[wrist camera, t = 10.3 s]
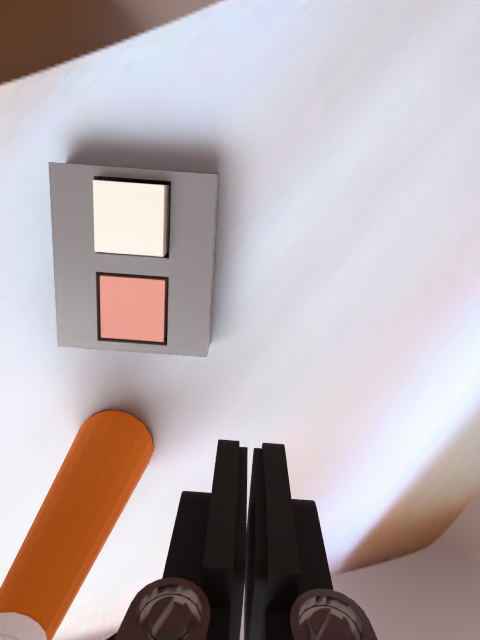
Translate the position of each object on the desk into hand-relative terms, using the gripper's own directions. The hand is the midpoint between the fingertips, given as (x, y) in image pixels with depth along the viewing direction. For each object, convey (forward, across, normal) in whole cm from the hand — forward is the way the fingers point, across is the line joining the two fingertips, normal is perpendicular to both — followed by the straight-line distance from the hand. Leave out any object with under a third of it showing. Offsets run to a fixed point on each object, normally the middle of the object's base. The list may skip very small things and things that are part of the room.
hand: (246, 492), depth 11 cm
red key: (+26, +9, +3) cm, 28 cm away
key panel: (+27, +9, -1) cm, 29 cm away
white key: (+25, +9, -4) cm, 27 cm away
